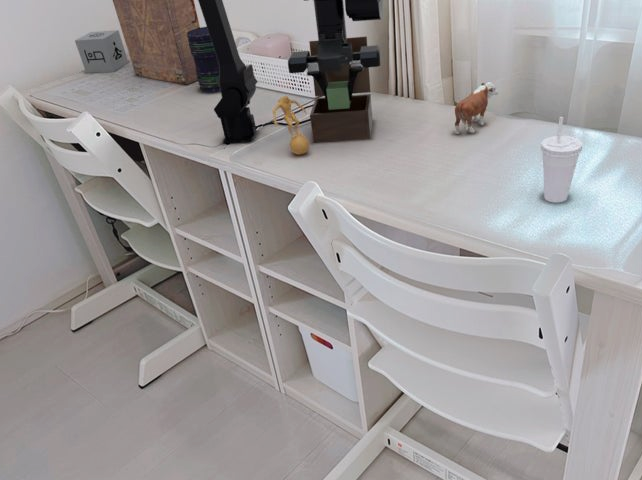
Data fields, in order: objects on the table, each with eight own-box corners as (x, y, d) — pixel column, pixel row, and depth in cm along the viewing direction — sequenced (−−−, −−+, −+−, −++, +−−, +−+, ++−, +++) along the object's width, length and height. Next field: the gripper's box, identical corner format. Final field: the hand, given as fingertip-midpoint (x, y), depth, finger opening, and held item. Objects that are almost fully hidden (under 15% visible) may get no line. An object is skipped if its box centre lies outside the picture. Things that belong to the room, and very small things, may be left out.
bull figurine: (500, 118, 133) (502, 80, 128) (464, 139, 126) (465, 100, 121) (483, 114, 136) (484, 77, 131) (447, 135, 128) (447, 96, 123)
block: (330, 102, 132) (328, 82, 130) (350, 101, 132) (348, 80, 129) (328, 109, 129) (326, 89, 126) (349, 108, 129) (347, 87, 126)
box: (370, 139, 131) (368, 110, 127) (313, 142, 132) (309, 114, 129) (372, 121, 139) (370, 93, 135) (319, 124, 141) (315, 97, 137)
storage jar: (218, 79, 176) (203, 13, 166) (242, 83, 171) (228, 14, 160) (192, 91, 170) (175, 22, 159) (217, 95, 165) (200, 24, 154)
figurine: (292, 163, 125) (282, 105, 118) (273, 156, 128) (262, 100, 121) (321, 148, 129) (313, 92, 122) (302, 142, 133) (294, 87, 126)
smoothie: (530, 191, 106) (537, 112, 97) (567, 186, 106) (577, 107, 97) (543, 208, 101) (551, 126, 92) (581, 203, 101) (593, 121, 92)
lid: (366, 36, 130) (366, 36, 130) (309, 41, 131) (309, 41, 132) (370, 92, 135) (370, 91, 135) (315, 96, 136) (315, 95, 137)
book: (135, 75, 189) (101, -34, 171) (159, 66, 194) (129, -40, 176) (187, 85, 175) (157, -32, 157) (211, 75, 181) (184, -39, 163)
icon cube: (86, 73, 197) (74, 40, 191) (101, 63, 204) (90, 32, 198) (114, 71, 195) (103, 38, 189) (128, 62, 203) (118, 30, 197)
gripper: (277, 37, 115) (290, 117, 125) (376, 29, 113) (381, 111, 122) (287, 22, 124) (298, 98, 133) (378, 14, 122) (383, 92, 131)
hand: (339, 100), depth 130 cm, fingers closed on block, 4 cm apart
